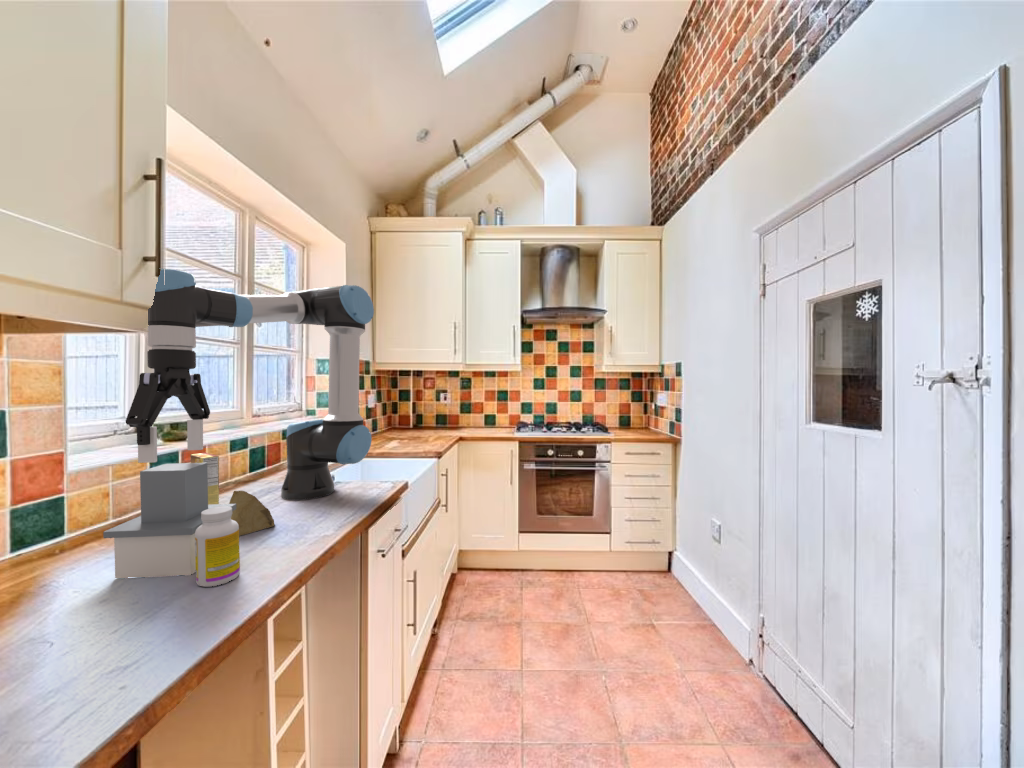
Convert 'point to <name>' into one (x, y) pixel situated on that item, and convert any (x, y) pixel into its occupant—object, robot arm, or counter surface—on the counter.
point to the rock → (250, 513)
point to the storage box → (154, 556)
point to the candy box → (210, 474)
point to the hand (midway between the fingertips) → (173, 455)
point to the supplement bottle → (217, 547)
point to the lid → (169, 502)
